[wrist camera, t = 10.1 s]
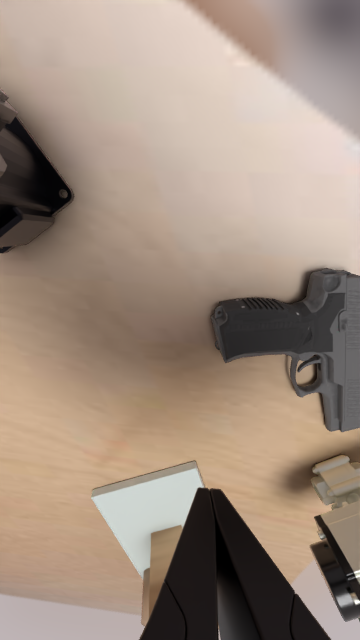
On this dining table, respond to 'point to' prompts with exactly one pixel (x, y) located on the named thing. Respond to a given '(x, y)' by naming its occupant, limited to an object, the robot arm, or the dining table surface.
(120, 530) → the panel
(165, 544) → the brown wooden block
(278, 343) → the handgun
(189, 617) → the robot arm
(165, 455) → the dining table surface
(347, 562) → the pneumatic valve
